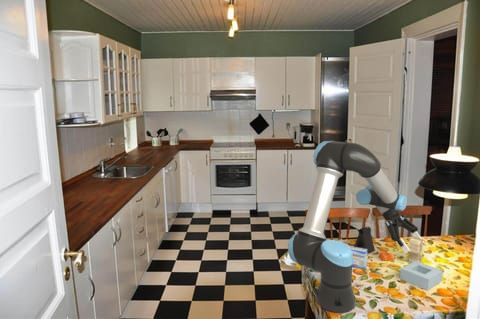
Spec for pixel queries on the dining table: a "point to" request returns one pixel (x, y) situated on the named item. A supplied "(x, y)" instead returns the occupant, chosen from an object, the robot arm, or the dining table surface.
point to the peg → (415, 250)
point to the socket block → (421, 275)
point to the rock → (386, 256)
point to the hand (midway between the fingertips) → (415, 248)
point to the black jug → (365, 240)
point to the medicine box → (359, 257)
